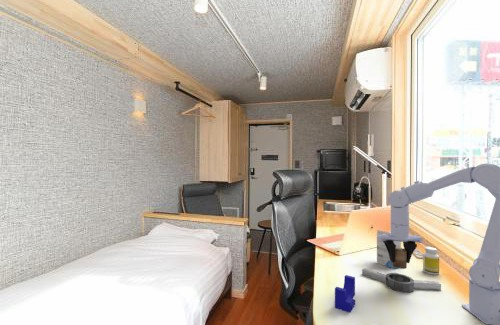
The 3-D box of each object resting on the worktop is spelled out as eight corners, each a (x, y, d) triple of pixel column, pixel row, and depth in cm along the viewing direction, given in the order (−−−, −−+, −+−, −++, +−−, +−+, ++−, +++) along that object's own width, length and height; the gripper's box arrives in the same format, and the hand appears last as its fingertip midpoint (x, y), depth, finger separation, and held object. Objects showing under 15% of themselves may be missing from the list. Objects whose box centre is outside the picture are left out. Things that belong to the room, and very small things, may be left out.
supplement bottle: (442, 275, 100) (442, 250, 100) (426, 274, 101) (426, 249, 102) (435, 270, 106) (435, 246, 106) (420, 269, 107) (420, 245, 107)
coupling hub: (409, 269, 88) (409, 251, 88) (395, 268, 89) (395, 251, 89) (402, 263, 93) (402, 247, 93) (389, 263, 94) (389, 246, 94)
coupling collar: (447, 295, 85) (447, 286, 85) (374, 290, 88) (374, 281, 88) (422, 276, 99) (422, 268, 99) (361, 273, 102) (361, 265, 102)
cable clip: (350, 313, 74) (350, 292, 74) (334, 308, 77) (334, 288, 77) (359, 296, 84) (359, 278, 84) (345, 292, 86) (345, 274, 86)
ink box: (401, 267, 109) (401, 232, 109) (394, 269, 106) (395, 234, 106) (382, 260, 116) (383, 228, 116) (376, 262, 114) (376, 229, 114)
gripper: (415, 222, 94) (415, 258, 94) (374, 220, 96) (374, 256, 96) (426, 226, 87) (426, 266, 87) (381, 225, 89) (381, 263, 89)
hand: (399, 261), depth 91 cm, fingers closed on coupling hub, 4 cm apart
